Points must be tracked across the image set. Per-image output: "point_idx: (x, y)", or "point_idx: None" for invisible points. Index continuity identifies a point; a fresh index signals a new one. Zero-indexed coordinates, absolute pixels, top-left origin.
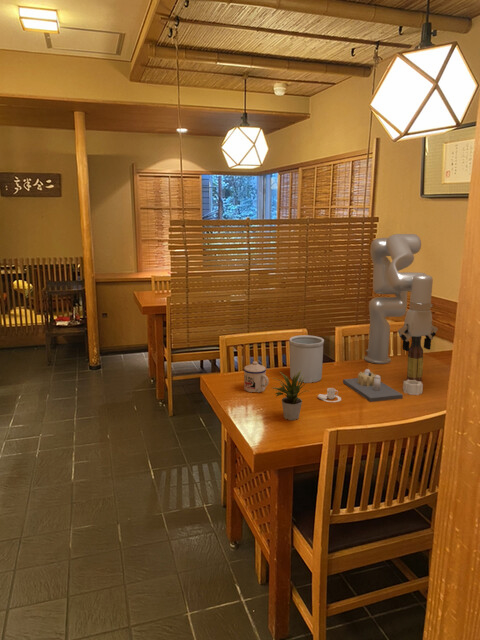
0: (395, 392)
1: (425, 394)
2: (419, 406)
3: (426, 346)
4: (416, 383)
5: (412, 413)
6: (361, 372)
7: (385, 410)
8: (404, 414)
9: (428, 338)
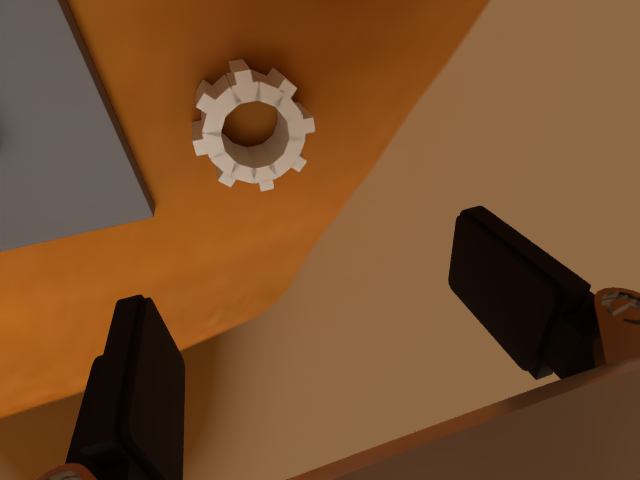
0: (115, 185)
1: None
2: (207, 286)
3: (467, 271)
4: (283, 117)
5: None
6: None
7: (29, 333)
8: None
9: (557, 370)
